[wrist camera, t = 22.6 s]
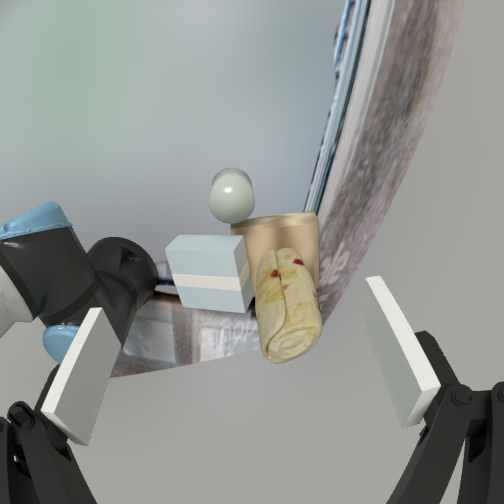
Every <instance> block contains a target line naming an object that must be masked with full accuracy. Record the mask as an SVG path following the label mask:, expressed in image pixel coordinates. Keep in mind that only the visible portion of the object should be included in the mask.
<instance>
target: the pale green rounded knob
mask: <svg viewBox="0 0 504 504" xmlns="http://www.w3.org/2000/svg"><path fill="white" fill-rule="evenodd" d="M254 205H255V199H254V194H253V189H252V185H251V181H250V178H249V176H248V175H247V174H246V173H245V172H244V171H242V170H240V169H237V168H226V169H223V170H221V171H220V172H219V173H217V174H216V176H215V177H214V179H213V181H212V187H211V192H210V198H209V207H210V210H211V212H212V214H213V215H214V216H215V217H216V218H217V219H218V220H220V221H222V222H224V223H229V224H234V223H239V222H242V221H244V220H245V219H247V218H248V217H249V216H250V215H251V213H252V212H253V209H254Z"/></svg>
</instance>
